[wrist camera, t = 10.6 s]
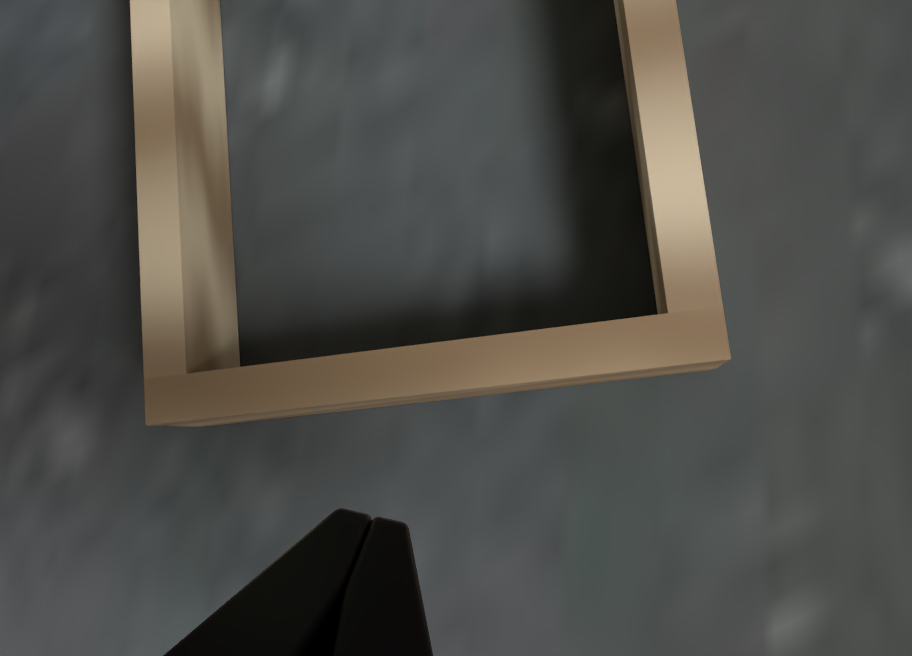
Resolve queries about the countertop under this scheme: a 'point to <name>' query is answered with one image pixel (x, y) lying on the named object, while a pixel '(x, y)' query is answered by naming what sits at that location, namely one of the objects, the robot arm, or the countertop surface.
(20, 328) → the countertop surface
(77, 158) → the countertop surface
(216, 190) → the wooden square frame
